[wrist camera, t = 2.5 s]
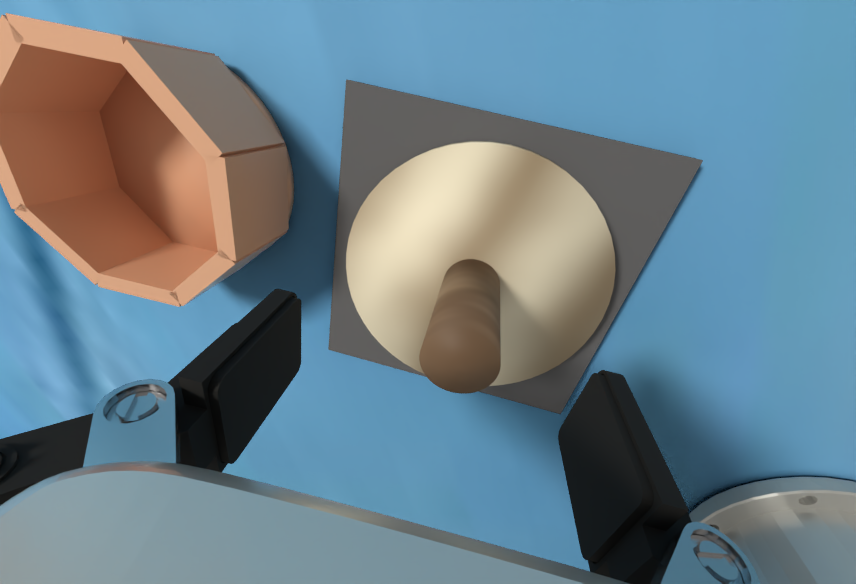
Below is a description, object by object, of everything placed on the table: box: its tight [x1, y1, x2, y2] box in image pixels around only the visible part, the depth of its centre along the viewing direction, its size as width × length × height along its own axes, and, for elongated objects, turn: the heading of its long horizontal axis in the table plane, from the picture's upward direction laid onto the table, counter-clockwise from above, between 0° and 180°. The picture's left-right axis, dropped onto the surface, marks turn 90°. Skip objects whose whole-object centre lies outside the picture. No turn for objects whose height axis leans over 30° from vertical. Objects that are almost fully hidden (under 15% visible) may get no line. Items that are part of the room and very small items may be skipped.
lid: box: [346, 141, 615, 393], centre depth 15 cm, size 13×13×7 cm
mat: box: [329, 80, 703, 414], centre depth 18 cm, size 15×15×1 cm
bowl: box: [0, 13, 294, 307], centre depth 16 cm, size 11×11×5 cm
